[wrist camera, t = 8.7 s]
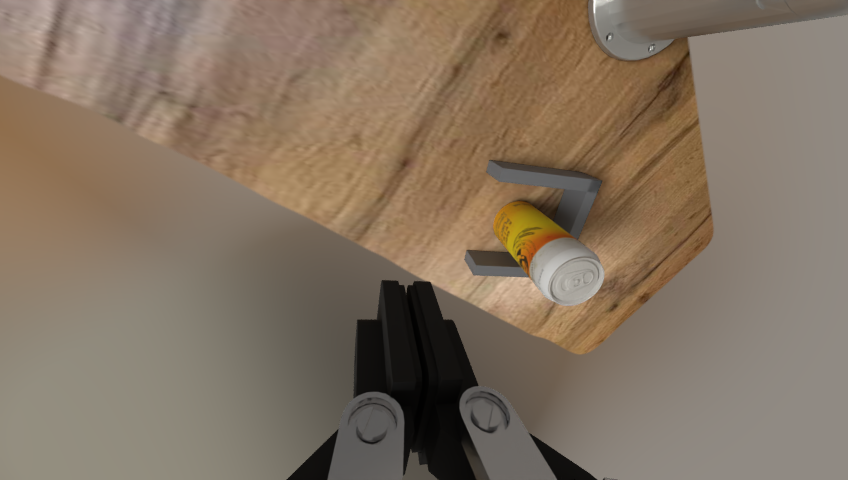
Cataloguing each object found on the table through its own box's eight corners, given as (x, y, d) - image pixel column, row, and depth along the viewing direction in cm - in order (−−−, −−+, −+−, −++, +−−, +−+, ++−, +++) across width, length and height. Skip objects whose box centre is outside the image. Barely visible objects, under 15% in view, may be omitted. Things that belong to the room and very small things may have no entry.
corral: (581, 172, 40) (602, 180, 36) (546, 263, 46) (561, 278, 42) (489, 160, 37) (502, 168, 33) (464, 259, 43) (473, 275, 40)
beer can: (486, 208, 40) (541, 268, 27) (530, 192, 40) (607, 244, 27) (496, 246, 43) (549, 317, 29) (537, 231, 43) (609, 296, 29)
